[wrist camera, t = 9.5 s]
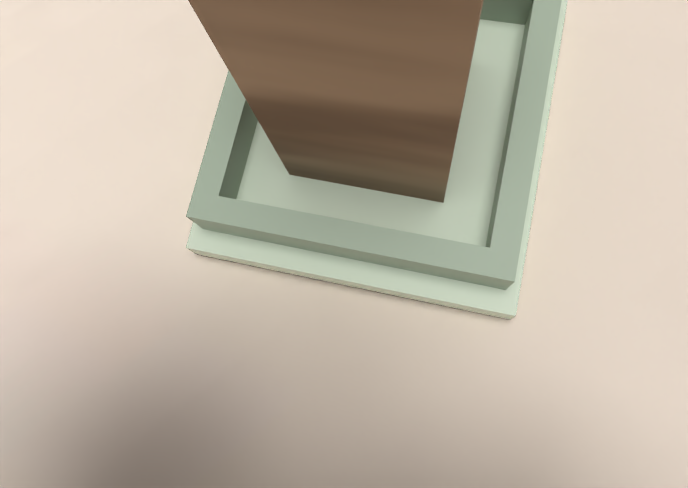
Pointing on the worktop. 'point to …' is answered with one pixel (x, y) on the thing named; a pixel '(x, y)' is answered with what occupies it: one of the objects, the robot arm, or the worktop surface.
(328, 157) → the wooden square pillar
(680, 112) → the worktop surface
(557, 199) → the worktop surface
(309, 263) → the tray
